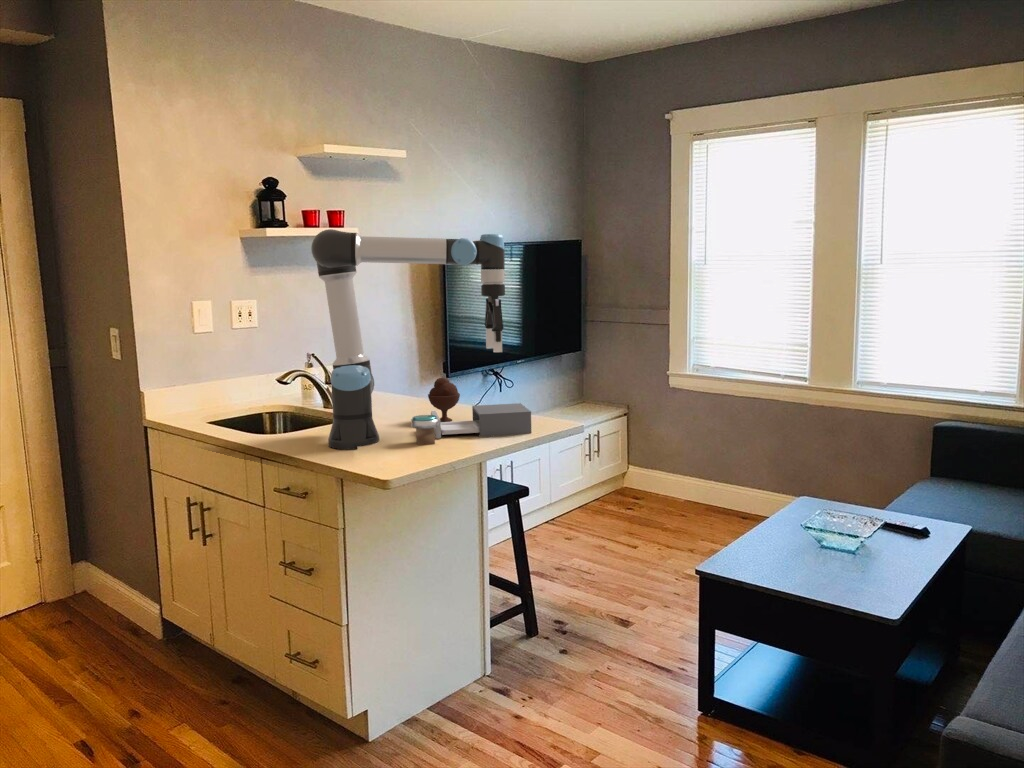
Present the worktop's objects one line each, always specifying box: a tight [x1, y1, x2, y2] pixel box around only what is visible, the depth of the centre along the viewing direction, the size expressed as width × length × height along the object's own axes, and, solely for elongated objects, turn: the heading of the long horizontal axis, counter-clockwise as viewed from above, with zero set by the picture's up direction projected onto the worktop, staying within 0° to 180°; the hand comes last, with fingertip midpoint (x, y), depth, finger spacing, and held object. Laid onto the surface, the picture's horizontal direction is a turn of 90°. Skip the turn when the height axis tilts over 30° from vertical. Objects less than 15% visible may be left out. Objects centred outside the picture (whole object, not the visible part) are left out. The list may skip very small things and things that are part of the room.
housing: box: [471, 402, 532, 438], centre depth 262 cm, size 16×17×7 cm
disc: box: [410, 414, 438, 430], centre depth 245 cm, size 8×8×3 cm
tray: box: [430, 410, 480, 440], centre depth 260 cm, size 16×17×6 cm
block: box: [415, 428, 436, 446], centre depth 246 cm, size 5×5×5 cm
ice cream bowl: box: [427, 377, 461, 422], centre depth 279 cm, size 11×11×15 cm
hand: (494, 350), depth 265 cm, fingers open, 13 cm apart
